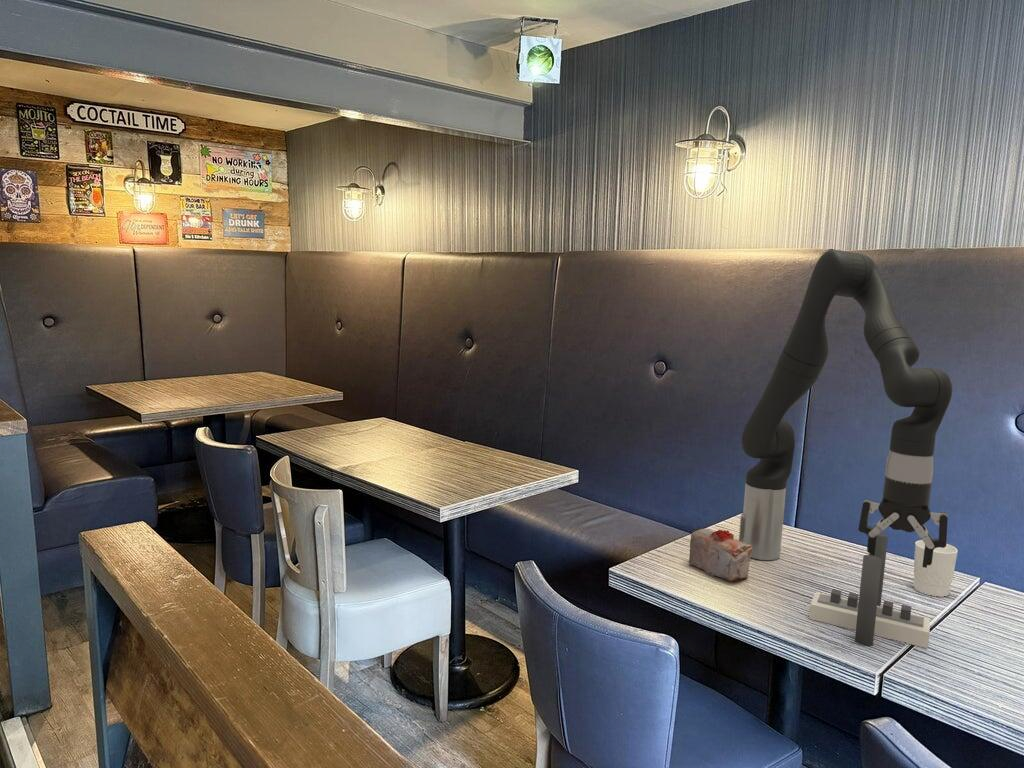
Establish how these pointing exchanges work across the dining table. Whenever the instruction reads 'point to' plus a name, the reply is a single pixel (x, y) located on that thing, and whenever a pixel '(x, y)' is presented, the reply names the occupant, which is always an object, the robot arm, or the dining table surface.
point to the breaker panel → (886, 623)
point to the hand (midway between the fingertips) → (898, 560)
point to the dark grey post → (868, 600)
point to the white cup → (934, 570)
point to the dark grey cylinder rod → (881, 552)
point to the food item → (720, 554)
